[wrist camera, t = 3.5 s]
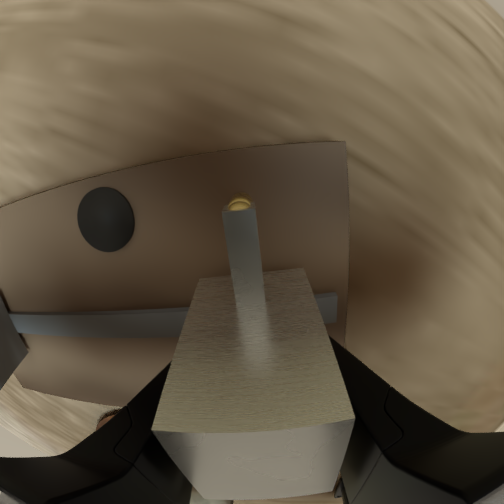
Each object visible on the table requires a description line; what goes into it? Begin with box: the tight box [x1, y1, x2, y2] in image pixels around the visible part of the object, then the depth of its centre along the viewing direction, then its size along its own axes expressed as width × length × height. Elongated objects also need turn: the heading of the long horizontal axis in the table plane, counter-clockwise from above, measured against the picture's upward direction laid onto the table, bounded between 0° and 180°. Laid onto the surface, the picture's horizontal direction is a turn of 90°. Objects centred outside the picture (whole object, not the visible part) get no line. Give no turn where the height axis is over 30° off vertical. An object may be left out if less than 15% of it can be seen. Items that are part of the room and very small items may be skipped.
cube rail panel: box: [0, 141, 349, 407], centre depth 9 cm, size 12×21×8 cm, turn 97°
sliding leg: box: [151, 193, 355, 500], centre depth 7 cm, size 7×4×6 cm, turn 6°
